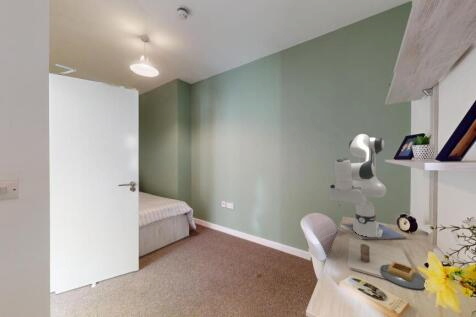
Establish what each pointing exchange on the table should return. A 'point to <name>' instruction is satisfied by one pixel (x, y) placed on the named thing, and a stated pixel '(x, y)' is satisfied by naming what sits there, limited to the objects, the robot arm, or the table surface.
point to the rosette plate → (403, 276)
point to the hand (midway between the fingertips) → (347, 208)
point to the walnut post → (365, 253)
